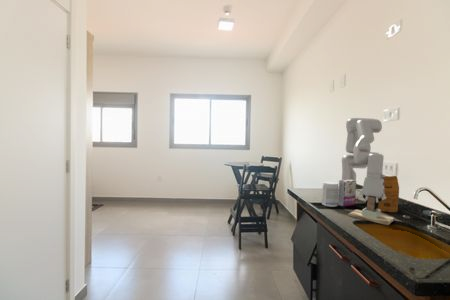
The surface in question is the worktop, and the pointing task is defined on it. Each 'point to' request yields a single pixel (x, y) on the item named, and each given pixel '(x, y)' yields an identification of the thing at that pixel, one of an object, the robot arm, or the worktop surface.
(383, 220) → the maple board
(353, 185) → the candy bar box
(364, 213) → the pale green block
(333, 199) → the supplement tub
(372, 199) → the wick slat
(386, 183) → the coffee package
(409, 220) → the worktop surface
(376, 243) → the worktop surface
